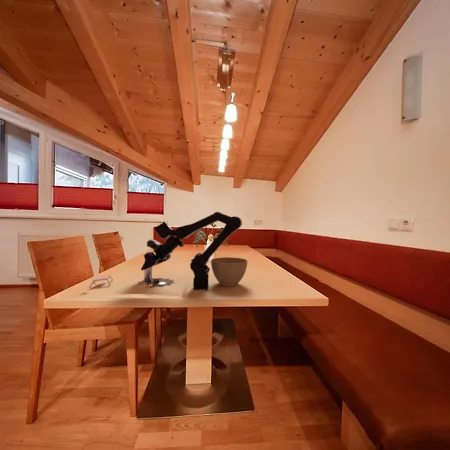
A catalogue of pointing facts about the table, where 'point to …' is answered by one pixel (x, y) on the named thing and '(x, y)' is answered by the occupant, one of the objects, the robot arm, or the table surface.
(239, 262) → the flower pot
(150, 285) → the sprocket plate
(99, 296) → the table surface
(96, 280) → the origami figure
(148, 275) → the drive pin
